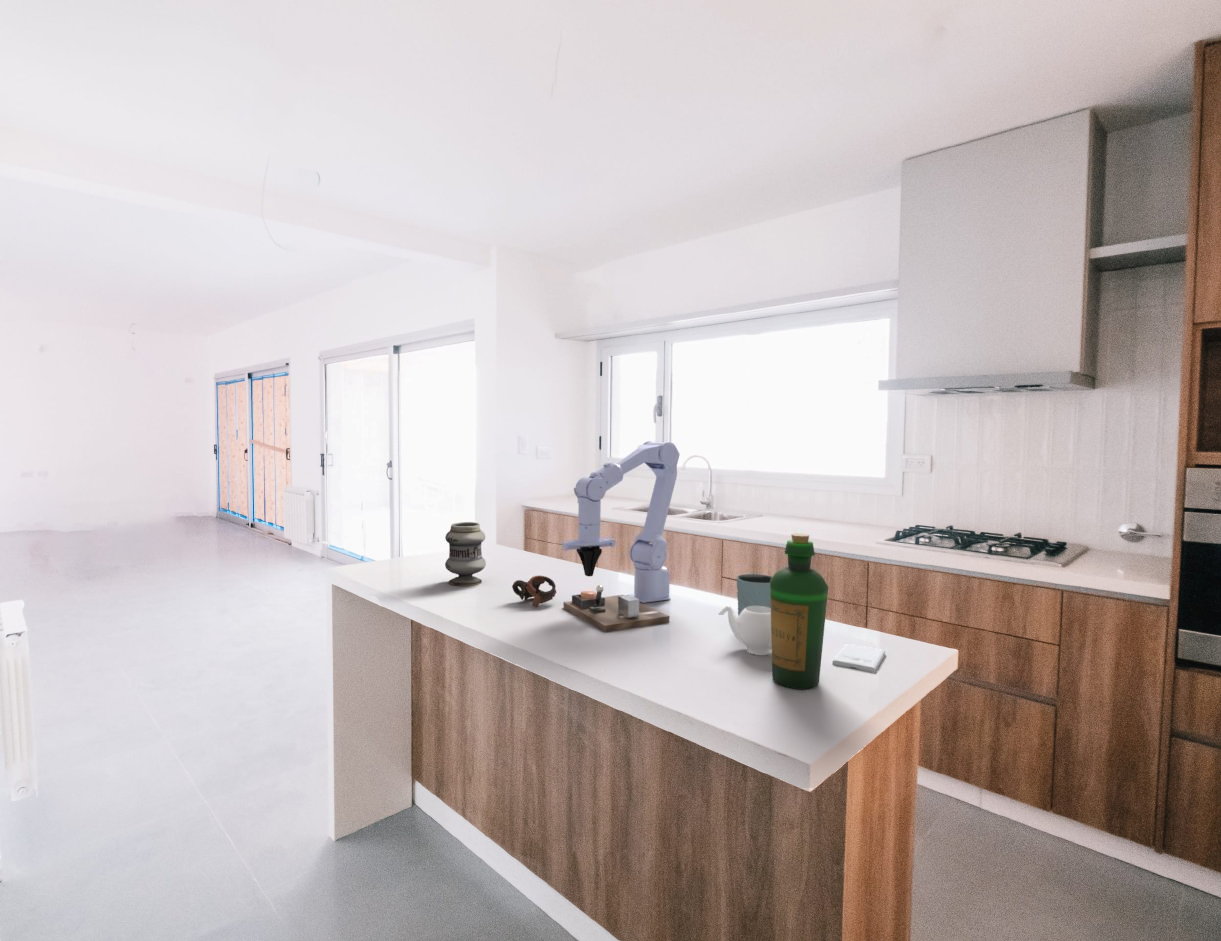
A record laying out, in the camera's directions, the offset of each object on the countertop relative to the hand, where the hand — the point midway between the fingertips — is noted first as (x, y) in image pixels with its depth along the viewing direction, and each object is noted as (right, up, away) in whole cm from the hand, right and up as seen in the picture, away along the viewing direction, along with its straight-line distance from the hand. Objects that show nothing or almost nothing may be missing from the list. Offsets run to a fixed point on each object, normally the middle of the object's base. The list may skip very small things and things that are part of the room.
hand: (588, 575), depth 170 cm
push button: (0, -7, 0) cm, 7 cm away
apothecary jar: (-38, -7, +28) cm, 48 cm away
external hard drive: (+58, -13, -34) cm, 68 cm away
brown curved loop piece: (-15, -9, +7) cm, 19 cm away
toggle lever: (+2, -7, -6) cm, 9 cm away
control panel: (+7, -9, -4) cm, 12 cm away
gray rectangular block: (+10, -8, -10) cm, 16 cm away
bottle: (+41, -13, -47) cm, 63 cm away
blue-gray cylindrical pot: (+41, -11, -12) cm, 44 cm away
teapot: (+37, -12, -30) cm, 49 cm away
